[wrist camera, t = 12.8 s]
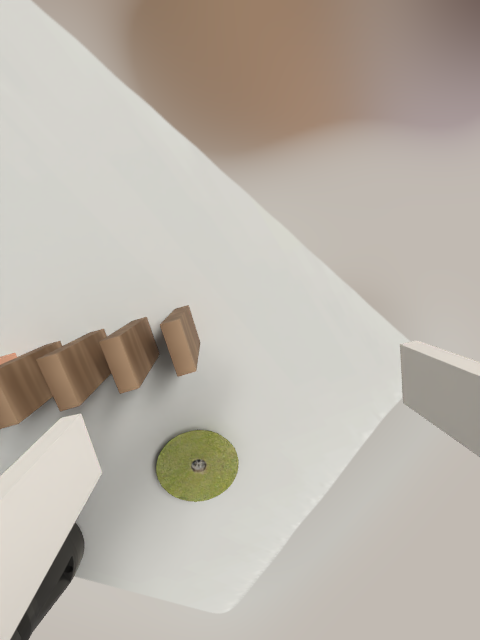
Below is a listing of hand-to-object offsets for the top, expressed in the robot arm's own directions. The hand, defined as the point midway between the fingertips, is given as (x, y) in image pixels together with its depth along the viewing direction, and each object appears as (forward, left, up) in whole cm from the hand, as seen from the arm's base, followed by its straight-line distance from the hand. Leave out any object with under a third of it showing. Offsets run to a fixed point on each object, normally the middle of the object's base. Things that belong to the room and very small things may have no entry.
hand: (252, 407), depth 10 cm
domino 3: (+3, +10, -24) cm, 26 cm away
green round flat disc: (-15, +15, -24) cm, 32 cm away
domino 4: (+1, +5, -24) cm, 24 cm away
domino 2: (+5, +15, -24) cm, 28 cm away
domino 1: (+7, +20, -24) cm, 32 cm away
